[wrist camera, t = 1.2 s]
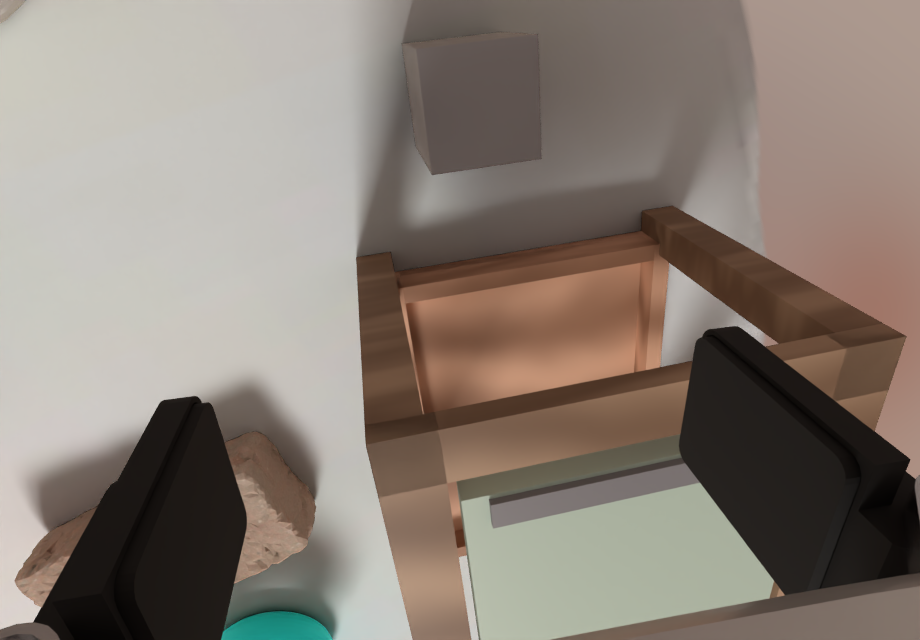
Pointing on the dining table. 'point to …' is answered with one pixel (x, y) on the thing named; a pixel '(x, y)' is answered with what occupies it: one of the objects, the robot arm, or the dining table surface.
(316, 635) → the donuts
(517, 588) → the trapdoor
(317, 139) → the dining table surface
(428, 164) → the grey squarish block
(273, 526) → the brick
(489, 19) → the dining table surface
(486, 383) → the frame
